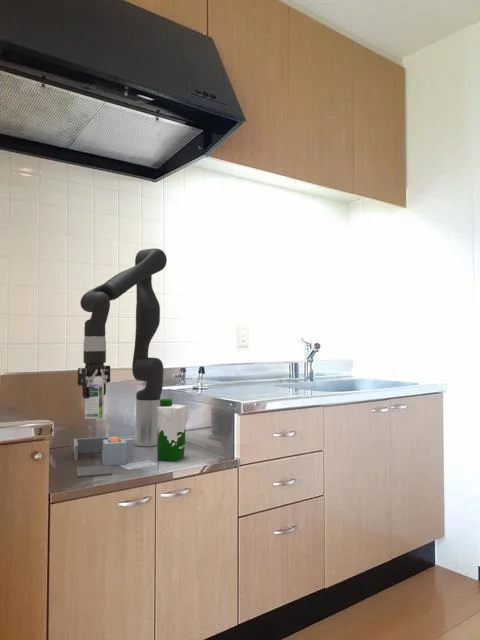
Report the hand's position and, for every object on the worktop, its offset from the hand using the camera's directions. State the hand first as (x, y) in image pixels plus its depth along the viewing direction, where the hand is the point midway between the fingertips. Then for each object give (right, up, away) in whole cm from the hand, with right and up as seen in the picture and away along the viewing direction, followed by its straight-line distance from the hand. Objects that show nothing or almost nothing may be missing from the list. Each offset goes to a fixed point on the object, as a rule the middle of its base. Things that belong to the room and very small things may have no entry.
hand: (94, 396), depth 181 cm
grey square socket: (+9, -20, -9) cm, 24 cm away
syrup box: (0, -7, 0) cm, 7 cm away
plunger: (+9, -18, -9) cm, 22 cm away
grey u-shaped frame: (0, -20, -1) cm, 20 cm away
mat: (+6, -20, -21) cm, 29 cm away
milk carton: (+27, -21, -3) cm, 34 cm away
